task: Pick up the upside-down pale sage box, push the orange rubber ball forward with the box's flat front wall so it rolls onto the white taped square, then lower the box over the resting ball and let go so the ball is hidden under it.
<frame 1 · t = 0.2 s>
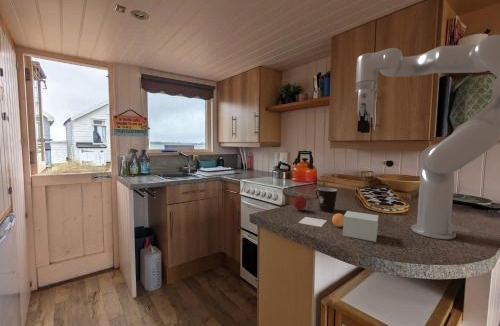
hand: (363, 132, 95), 36 cm above the worktop, tool pointing down, fingers open, 9 cm apart
coffee mug: (325, 209, 116), on the worktop
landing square: (312, 221, 97), on the worktop
onion: (299, 211, 113), on the worktop
pale sage box: (360, 234, 84), on the worktop
ball: (339, 220, 92), on the worktop
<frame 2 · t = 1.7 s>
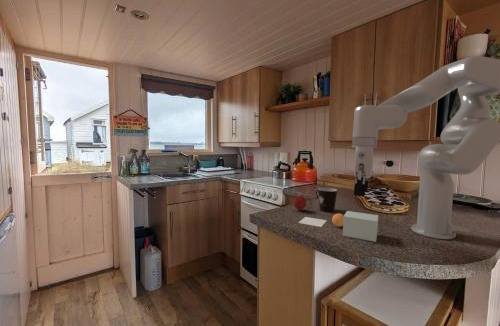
hand: (360, 193, 83), 15 cm above the worktop, tool pointing down, fingers open, 9 cm apart
nothing on the worktop moved.
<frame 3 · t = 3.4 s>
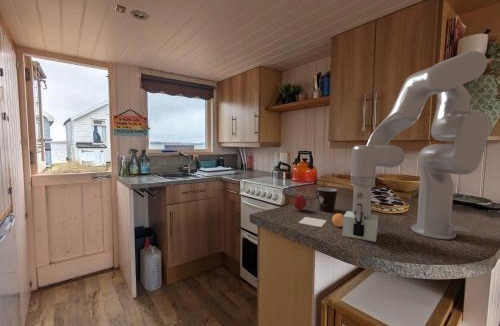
hand: (359, 231, 84), 1 cm above the worktop, tool pointing down, fingers closed on pale sage box, 7 cm apart
pale sage box: (359, 234, 84), on the worktop, touching gripper
everything else where it was.
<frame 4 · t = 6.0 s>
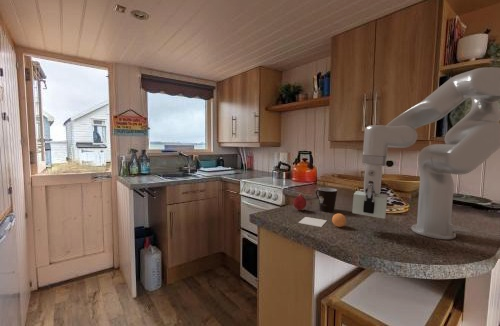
hand: (369, 209, 86), 8 cm above the worktop, tool pointing down, fingers closed on pale sage box, 7 cm apart
pale sage box: (369, 213, 86), point 7 cm above the worktop, touching gripper
everything else where it was.
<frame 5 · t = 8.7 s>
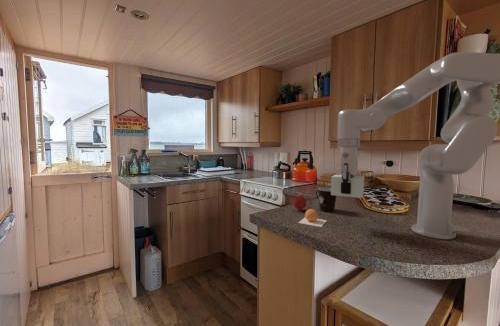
hand: (347, 191, 90), 14 cm above the worktop, tool pointing down, fingers closed on pale sage box, 7 cm apart
pale sage box: (347, 194, 90), point 13 cm above the worktop, touching gripper
ball: (311, 215, 98), on the worktop
everything else where it was.
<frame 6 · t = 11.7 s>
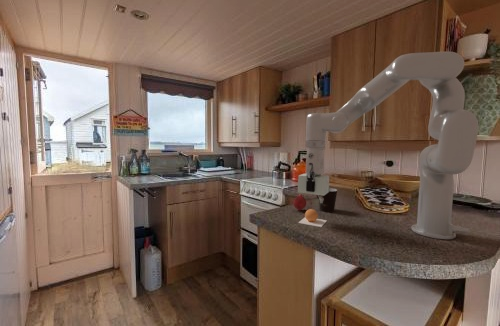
hand: (313, 189, 96), 13 cm above the worktop, tool pointing down, fingers closed on pale sage box, 7 cm apart
pale sage box: (313, 192, 96), point 12 cm above the worktop, touching gripper
everything else where it was.
when the fingers open (2 cm above the worktop, at t = 14.2 s): pale sage box stays where it is, on the worktop.
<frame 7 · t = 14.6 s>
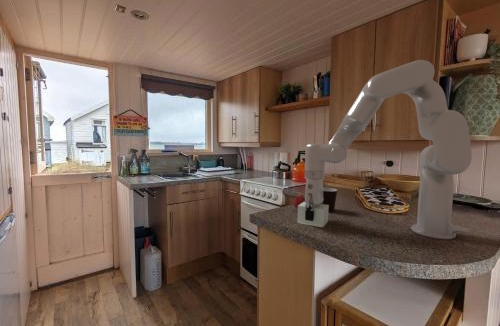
hand: (312, 217, 97), 2 cm above the worktop, tool pointing down, fingers open, 9 cm apart
pale sage box: (312, 221, 97), on the worktop
everything else where it was.
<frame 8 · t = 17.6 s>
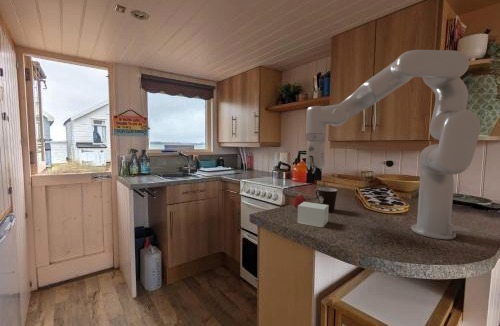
hand: (314, 181, 96), 16 cm above the worktop, tool pointing down, fingers open, 9 cm apart
nothing on the worktop moved.
at the end: ball 0.8 cm from the pale sage box (horizontally); pale sage box on the worktop; ball moved 10.8 cm from its start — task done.
